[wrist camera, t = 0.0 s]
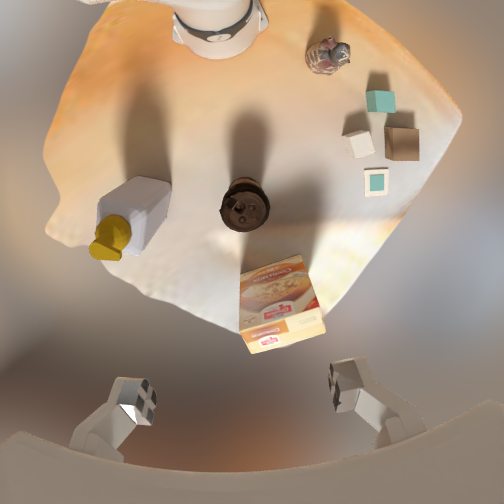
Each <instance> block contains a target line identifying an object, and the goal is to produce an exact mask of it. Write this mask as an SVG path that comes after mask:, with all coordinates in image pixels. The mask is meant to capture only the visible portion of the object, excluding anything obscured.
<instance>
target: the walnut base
mask: <svg viewBox="0 0 504 504" xmlns="http://www.w3.org/2000/svg"><path fill="white" fill-rule="evenodd" d="M384 134H385V158H387V159H390V160H393V161H419V129H413V128H401V127H384Z"/></svg>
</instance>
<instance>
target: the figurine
mask: <svg viewBox="0 0 504 504" xmlns="http://www.w3.org/2000/svg"><path fill="white" fill-rule="evenodd" d="M349 58H350V45H348V44H346V43H337V42H335V40H334V38H333V37H331V36H329V37H328V38H327V39H324V40H323V41H322V42H319V43H317V44H314V45H313V46H312V47H310V48H309V49H308V51H307V53H306V57H305V59H306V63H307V66H308V67H309V69H310V70H311V71H312V72H313V73H315V74H319V75H327V76H331V75H332V74H333V73H335V72H336V71H337V70H338V69H339V68H340V67H341V66H342V65H344V64H345V63H350V60H349Z"/></svg>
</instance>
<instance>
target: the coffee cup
mask: <svg viewBox="0 0 504 504" xmlns="http://www.w3.org/2000/svg"><path fill="white" fill-rule="evenodd" d="M269 210H270V204H269V200H268V198H267V196H266V195H265V193H264V191H263V190H262V188H261V186H260V185H259V184H258V183H257V182H256V181H255V180H254V179H252V178H248V177H242V178H239V179H237V180H236V181H234V183H233V184H232V185H231V186H230V187H229V190H228V191H227V193H226V194H225V195H224V197H223V201H222V205H221V209H220V210H219V211H220V214H221V217H222V220H223V222H224V223H225V225H226V226H227V227H229V228H230V229H232V230H235V231H237V232H248V231H252V230H254V229H257V228H258V227H260V226H261V225H263V224H264V222H265V221H266V220H267V218H268V216H269Z"/></svg>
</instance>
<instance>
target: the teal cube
mask: <svg viewBox="0 0 504 504" xmlns="http://www.w3.org/2000/svg"><path fill="white" fill-rule="evenodd" d="M366 99H367V109H368V112H384V113H396V108H395V97H394V92H390V91H378V90H373V91H367V92H366Z"/></svg>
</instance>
